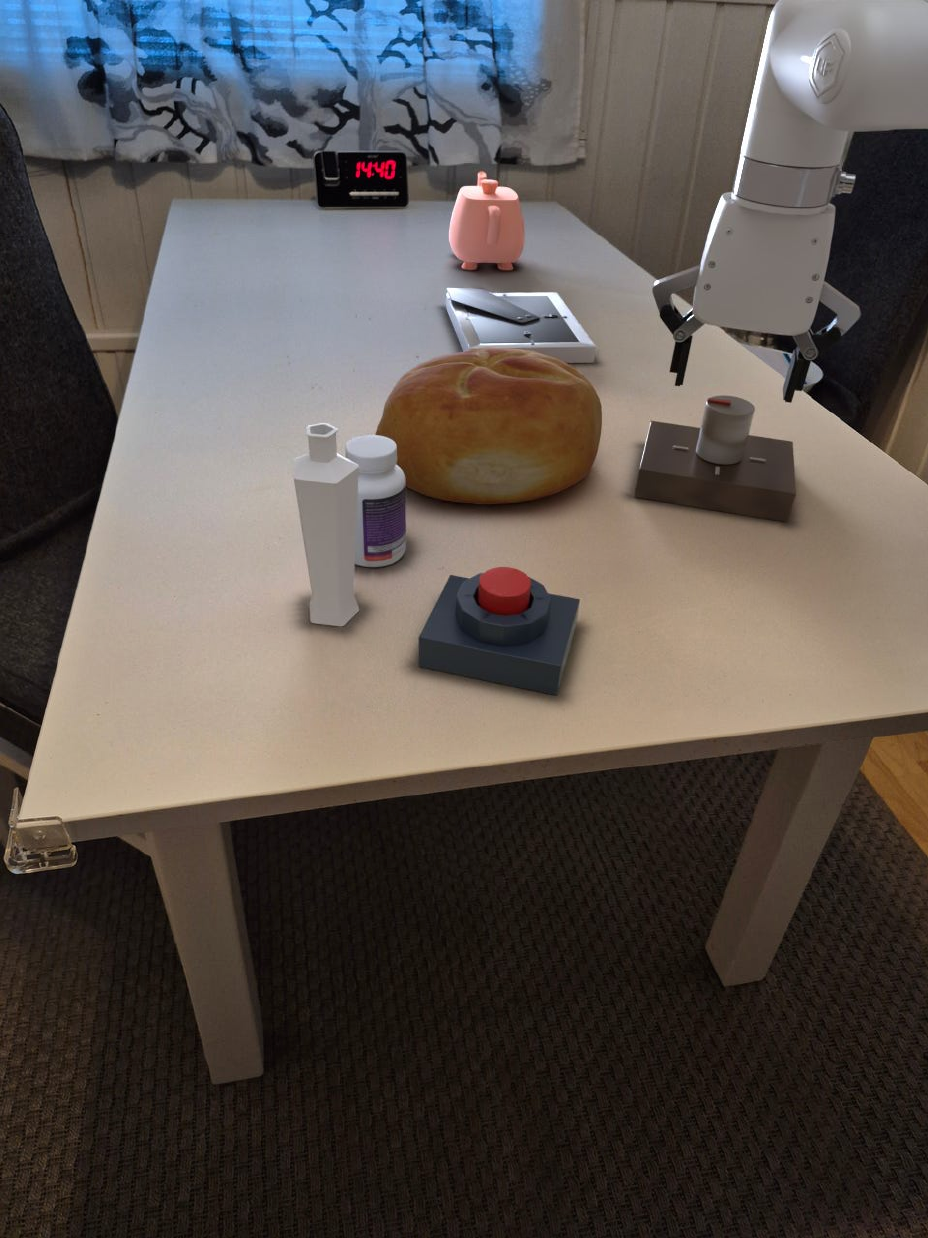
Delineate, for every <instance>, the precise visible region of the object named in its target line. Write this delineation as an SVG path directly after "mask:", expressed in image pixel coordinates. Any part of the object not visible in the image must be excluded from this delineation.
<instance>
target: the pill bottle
mask: <svg viewBox="0 0 928 1238" xmlns="http://www.w3.org/2000/svg"><path fill="white" fill-rule="evenodd" d="M344 447H345V448H344V449H345V450H344V451H345V455H344V456H345V458H347V459H349V460H350V461H352V462H354V463H356V464H358V465H359V474H358V497H357V520H356V544H355V565H356V566H360V567H365V568H381V567H382V568H383V567H386V566H390V565H392V564H395V563H396V562H398V561H399V560H400V559H402V557H403V556H404V555H405V553H406V551H407V510H406V508H407V504H406V503H407V498H406V493H407V491H406V490H407V486H406V482H405V475H404V472H403V471H402V469H401V468H400V467H399V466H398V465H396V463H397V445H396V443H395V442H394V441H393V440H392V439H390V438H387V437H384V436H379V435H375V434H363V435H357V436H355V437H353V438H351V439H349V440H348V441H347V442H346V443H345V445H344Z"/></svg>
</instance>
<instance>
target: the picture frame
mask: <svg viewBox="0 0 928 1238" xmlns="http://www.w3.org/2000/svg"><path fill="white" fill-rule="evenodd" d="M446 291H447V293H446V295H445V297H446V299H445V309H446V312H447V314H448V316H449V319H450V321H451V325H452V327H453V329H454V331H455V334H456V336H457V339H458V341H459V344H460V347H461V349H462V352H464V351H469V350H473V349H479V348H485V347H491V348H512V349H522V350H529V351H535V352H538V353H541V354H544V355H547V356H551V357H554V358H557V359H559V360H562V361H564V362H565V363H567V364H589V363H590V364H591V363H592V364H594V363H595V357H596V349H597V346H596V345H595V343H594V341H592V339H591V337H590V336H589V335H588V333H587V332H586V331H585V329H584V328H583V327H582V325H581V324H580V321H578V319H577V318H576V317H575V315H574V314H573V313H572V311H571V310H570V309H569V307H568V306H567V304H566V303H565V302H564V301H563V299H562V298H561V296H560V295H559V294H558V292H555V291H554V292H489V291H487V290H486V289H484V288H464V287H463V288H462V287H446Z"/></svg>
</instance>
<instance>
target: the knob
mask: <svg viewBox="0 0 928 1238" xmlns="http://www.w3.org/2000/svg"><path fill="white" fill-rule="evenodd" d="M755 411H756V407H755V405H754V404H753V403H752V402H750V401H749V400H747V399H744V398H742V397H738V396H733V395H715V396H714V395H713V396H710V397H707V398H706V402H705V407H704V411H703V415H702V419H701V424H700V427H699V428H700V433H699V437H698V442H697V446H696V453H697V455H698V456H699V457H701V458H702V459H704V460H706V461H708V462H711V463H716V464H723V465H729V464H735V463H738V462H740V461H741V460H742V458H743V454H744V450H745V446H746V442H747V439H748V435H750V430H751V427H752V422H753V418H754V415H755Z"/></svg>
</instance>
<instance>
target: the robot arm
mask: <svg viewBox="0 0 928 1238" xmlns="http://www.w3.org/2000/svg"><path fill="white" fill-rule="evenodd" d="M758 64H759V65H758V69H757V74H756V78H755V83H754V87H753V92H752V96H751V101H750V106H749V110H748V115H747V118H746V119H747V120H746V124H745V129H744V134H743V139H742V143H741V148H740V153H739V158H738V163H737V167H736V171H735V177H734V181H733V185H732V190H731V191H728V192H724V193H722V195H721V196H720V199H719V201H718V203H717V207H716V208H715V212H714V214H713V217H712V220H711V223H710V226H709V229H708V233H707V237H706V240H705V245H704V248H703V252H702V256H701V259H700V264H698V265H696V266H693V267H690V268H687V269H685V270H682V271H679V272H676V273H674V274H671V275H668V276H665V277H663V278H660V279H657V280H656V281H655V282H654V283H653V286H652V289H651V291H652V294H653V297H654V301H655V305H656V307H657V310H658V313H659V318H660V320H661V321H662V322H663V324H664V325H665V326H666V328H667V330H669V332H670V333H671V336H672V339H673V340H674V346H673V352H672V356H671V361H670V367H669V371H668V372H669V373H673V374H676V375H675V381H674V387H681V386H683V385H684V380H685V376H686V372H687V367H688V363H689V362H688V361H689V357H690V351H691V347H692V342H693V338H694V337H693V334H694V333H696V332H697V331H698V330H699V329H701V328H702V327H703V326H704V325H707V326H708V325H709V326H715V327H720V328H727V329H733V330H742V331H751V332H756V333H764V334H773V335H780V336H792V339H793V341H794V342H795V344H796V348H794V349H793V350H792V354H791V358H790V362H789V365H788V368H787V371H786V375H785V379H784V382H783V386H782V400H783V401H784V403H790V404H791V403H792V402H793V398H794V395H795V392H796V391H797V392H803V389H804V386H805V383H806V381H807V380H806V379H807V376H808V373H809V370H810V366H811V362H812V361H813V360H815V359H816V358H817V357H818V355H820V354H821V353H822V352H824V351H826V350H827V349H829V348H831V347H832V346H834V345H835V344H837V343H838V342H840V340H841V339H842V336H844V335H845V333H847V332H848V331H849V330H850V328H852V327H853V326H854V324H855V323H856V322H857V321H858V320H859V319H860V318H861V315H862V313H861V308H860V306H859V305H857V304H856V302H854V301H852V300H851V299H850V298H848V297H847V296H845V295H844V294H843V293H842V292H840V291H839V290H838V289H836V288H835V287H833V286H832V285H831V284H830V283H829V282H827V281H825V277H826V273H827V269H828V263H829V259H830V252H831V245H832V239H833V235H834V234H833V233H834V228H835V220H836V206H835V205H834V204H832V203H831V200H832V198H835V197H836V195H841V194H849V195H850V194H852V192H853V189H854V186H855V182H856V178H857V175H856V174H850V173H847V171H843V170H842V167H841V166H840V163H841V160H842V156H843V153H844V149H845V146H846V142H847V138H848V135H849V132H851V133H853V132H884V131H892V130H922V129H923V130H924V129H925V130H926V129H927V130H928V0H778V1H777V2H776V3H775V5H774V7H773V8H772V10H771V13H770V16H769V19H768V23H767V27H766V32H765V36H764V41H763V47H762V50H761V54H760V59H759V63H758ZM691 287H694V290H693V299H692V308H690V310H689V311H687V312H686V313H685V314H684V315H682V314H681V313H680V310H678V308H677V307H676V305H675V304H674V302H673V297H672V295H673V294H675V293H678V292H680V291H683V290H686V289H688V288H691ZM819 302H820V303H822V304H823V305H824V306H825V307H827V308H828V309H830V310H831V311H832V312H834V313H835V314H836V317H834V318H833V320H832V322H831V323H830V324H827V325H826V326H824V327H823V328H821V329H819V330H818V331H816V332H815V333H813V331H812V329H811V326H812V324H813V322H814V319H815V317H816V314H817V310H818V306H819Z"/></svg>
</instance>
